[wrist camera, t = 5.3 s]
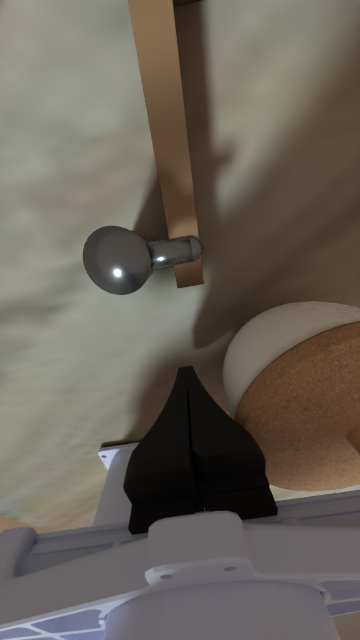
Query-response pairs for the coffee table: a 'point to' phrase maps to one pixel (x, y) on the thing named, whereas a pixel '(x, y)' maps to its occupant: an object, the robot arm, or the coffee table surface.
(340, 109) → the coffee table surface
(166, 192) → the walnut shelf
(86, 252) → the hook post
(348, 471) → the lidded jar
